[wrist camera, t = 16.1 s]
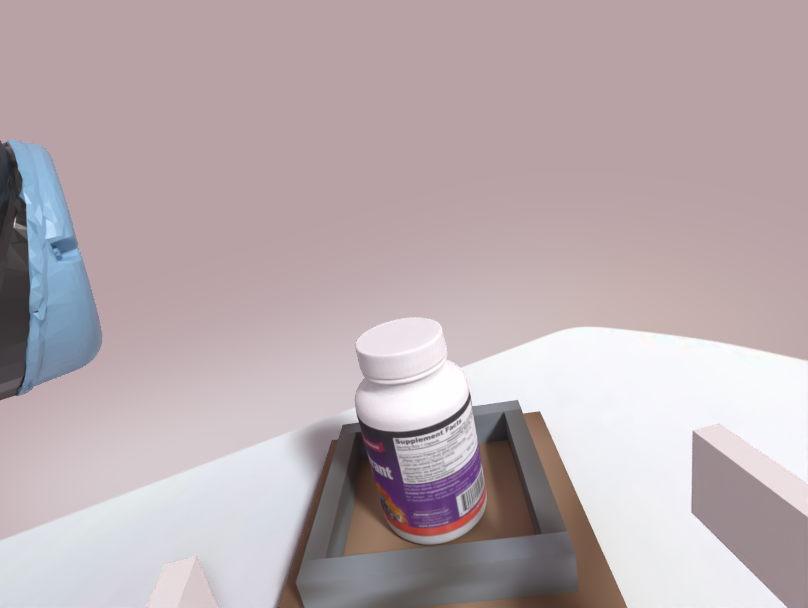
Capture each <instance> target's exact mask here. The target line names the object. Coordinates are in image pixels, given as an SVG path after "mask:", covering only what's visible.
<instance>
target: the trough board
mask: <svg viewBox="0 0 808 608" xmlns="http://www.w3.org/2000/svg"><path fill="white" fill-rule="evenodd" d="M473 414H474V420H475V426H476V432H477V438H478V444H479V450H480V456H481V461H482V467H483V473H484V478H485V485H486V494H487V501H486V507H485V511H484V513H483V515H482V517H481V519H480V520H479V522H478V523H477V524H476V525H475V526H474V527H473V528H472V529H471V530H470V531H468V532H467V533H466V534H464V535H462V536H461V537H459V538H457V539H454V540H452V541H449V542H445V543H441V544H432V545H424V544H418V543H414V542H410V541H408V540H406V539H404V538H402V537H400V536H399V535H398V534H397V533H396V532H394V530H393V529H392V528H391V527H390V525H389V524H388V522H387V520H386V517H385V515H384V511H383V508H382V505H381V501H380V498H379V494H378V490H377V487H376V483H375V479H374V476H373V472H372V468H371V465H370V461H369V457H368V453H367V450H366V447H365V443H364V439H363V435H362V431H361V428H360V424H359V423H353V424H346V425H343V426H342V429H341V433H340V436H339V439H338V440H332V442H331V445H330V448H329V451H328V454H327V458H326V461H325V464H324V467H323V470H322V473H321V476H320V479H319V483H318V486H317V489H316V492H315V495H314V498H313V501H312V504H311V508H310V511H309V514H308V517H307V520H306V523H305V526H304V529H303V533H302V536H301V539H300V542H299V545H298V548H297V551H296V555H295V558H294V561H293V564H292V567H291V570H290V573H289V576H288V580H287V583H286V586H285V589H284V592H283V595H282V598H281V601H280V605H279V608H627V606H626V604H625V601H624V599H623V597H622V595H621V592H620V590H619V588H618V586H617V583H616V581H615V579H614V577H613V574H612V572H611V570H610V568H609V565H608V563H607V561H606V559H605V556H604V554H603V552H602V550H601V547H600V545H599V543H598V541H597V538H596V536H595V534H594V532H593V530H592V527H591V525H590V523H589V521H588V518H587V516H586V514H585V512H584V509H583V507H582V505H581V503H580V500H579V498H578V496H577V494H576V491H575V489H574V487H573V485H572V482H571V480H570V478H569V476H568V473H567V471H566V469H565V467H564V464H563V462H562V460H561V458H560V455H559V453H558V451H557V449H556V446H555V444H554V442H553V440H552V437H551V435H550V433H549V431H548V429H547V426H546V424H545V422H544V420H543V417H542V415H541V413H540V411H539V412H532V413H525V414H523V413H522V410H521V407H520V405H519V402H518V400H515V401H508V402H501V403H494V404H487V405H480V406H473Z"/></svg>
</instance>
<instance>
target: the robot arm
mask: <svg viewBox="0 0 808 608" xmlns="http://www.w3.org/2000/svg"><path fill="white" fill-rule="evenodd" d="M101 344H102V331H101V326H100V321H99V316H98V313H97V309H96V304H95V301H94V298H93V294H92V290H91V286H90V283H89V279H88V276H87V272H86V269H85V266H84V262H83V259H82V256H81V253H80V252H79V249H78V242H77V239H76V236H75V232H74V229H73V224H72V220H71V217H70V213H69V210H68V206H67V203H66V200H65V197H64V193H63V190H62V187H61V184H60V181H59V178H58V175H57V172H56V169H55V167H54V164H53V160H52V158H51V156H50V154H49V152H48V151H47V150H46V148H44V147H43V146H41V145H39V144H35V143H23V142H21V141H15V140H9V141H7V142H6V143H4V144H2V143H1V141H0V400H2V399H5V398H8V397H12V396H15V395H16V396H19V395H22V394H25V393H27V392H29V391H30V390H31V389H32V388H33V387H34V386H36V385H39V384H42V383H44V382H46V381H49V380H52V379H54V378H57V377H59V376H62V375H65V374H67V373H70V372H72V371H75V370H77V369H79V368H81V367H83V366H85V365H86V364H88V363H89V362H91V361H92V360H93V359H94V358H95V356H96V355H97V353H98V352H99V350H100V347H101ZM692 513H693V514H694V515H695V516H696V517H697V518H698V519H699V520H700V521H701V522H702V523H703V524H704V525H705V526H706V527H707V528H708V529H709V530H710V531H711V532H712V533H713V534H714V535H715V536H716V537H717V538H718V539H719V540H720V541H721V542H722V543H723V544H724V545H725V546H726V547H727V548H728V549H729V550H730V551H731V552H732V553H733V554H734V555H735V556H736V557H737V558H738V559H739V560H740V561H741V562H742V563H743V564H744V565H745V566H746V567H747V568H748V569H749V570H750V571H751V572H752V573H753V574H754V575H755V576H756V577H757V578H758V579H759V580H760V581H761V582H762V583H763V584H764V585H765V586H766V587H767V588H768V589H769V590H770V591H771V592H772V593H773V594H774V595H775V596H776V597H778V598H779V599H780V600H781V601H782V602H783V603H784V604H785V605H786V606H787V607H788V608H808V484H807V483H806V482H804V481H803V480H801V479H800V478H798V477H797V476H795V475H794V474H792V473H791V472H789V471H788V470H787V469H785V468H784V467H782V466H781V465H779V464H778V463H776V462H775V461H773V460H772V459H770V458H769V457H767V456H766V455H765V454H763V453H762V452H760V451H759V450H757V449H756V448H754V447H753V446H751V445H750V444H748V443H747V442H745V441H744V440H742V439H741V438H740V437H738V436H737V435H735V434H734V433H732V432H731V431H729V430H728V429H726V428H725V427H723V426H722V425H720V424H716V425H712V426H709V427H705V428H701V429H697V430H693V443H692ZM146 608H219V607H218V604H217V602H216V600H215V597H214V595H213V593H212V591H211V588H210V586H209V584H208V581H207V579H206V577H205V574H204V572H203V570H202V567H201V565H200V563H199V561H198V558H197V556H195V557H191V558H187V559H183V560H179V561H175V562H171V563H167V564H165V565H164V568H163V570H162V572H161V574H160V577H159V579H158V581H157V583H156V586H155V588H154V590H153V592H152V594H151V597H150V599H149V601H148V603H147V606H146Z"/></svg>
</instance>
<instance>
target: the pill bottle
mask: <svg viewBox="0 0 808 608" xmlns="http://www.w3.org/2000/svg"><path fill="white" fill-rule="evenodd" d="M355 346H356V352H357V356H358V361H359V365H360V369H361V371H362V373H363V375H364V377H365V378H364V379H363V381H362V382H361V383H360V385H359V387H358V389H357V391H356V395H355V407H356V413H357V417H358V420H359V424H360V428H361V431H362V435H363V439H364V443H365V447H366V450H367V453H368V457H369V461H370V465H371V468H372V472H373V476H374V479H375V483H376V487H377V490H378V494H379V498H380V501H381V505H382V508H383V511H384V515H385V517H386V520H387V522H388V524H389V525H390V527H391V528H392V529H393V530H394V532H396V533H397V534H398V535H399V536H400V537H402V538H404V539H406V540H408V541H410V542H414V543H418V544H424V545H432V544H441V543H445V542H449V541H452V540H454V539H457V538H459V537H461V536H462V535H464V534H466V533H467V532H468V531H470V530H471V529H472V528H473V527H474V526H475V525H476V524H477V523H478V522H479V520H480V519H481V517H482V515H483V513H484V511H485V507H486V501H487V494H486V485H485V478H484V473H483V467H482V461H481V456H480V450H479V444H478V438H477V432H476V426H475V420H474V414H473V407H472V402H471V396H470V392H469V387H468V382H467V379H466V376H465V374H464V373H463V371H462V370H461V369H460V368H459V367H458V366H457V365H456V364H454V363H453V362H451V361H449V360H447V359H446V358H447V347H446V344H445V339H444V335H443V332H442V327H441V325H440V324H439V323H438V322H436V321H434V320H432V319H428V318H417V317H416V318H415V317H413V318H404V319H398V320H393V321H389V322H386V323H383V324H380V325H378V326H376V327H373V328H372V329H370V330H368V331H366V332H365V333H364V334H362V335H361V336H360V337H359V338H358V340H357V342H356V345H355Z"/></svg>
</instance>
